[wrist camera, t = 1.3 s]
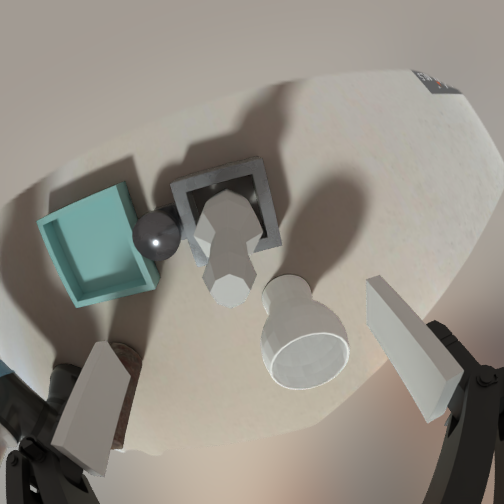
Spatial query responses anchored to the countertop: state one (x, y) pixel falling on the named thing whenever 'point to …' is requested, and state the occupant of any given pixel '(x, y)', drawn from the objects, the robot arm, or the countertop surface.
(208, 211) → the grey faceted bottle
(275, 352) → the cup
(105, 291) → the tray
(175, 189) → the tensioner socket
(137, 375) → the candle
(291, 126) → the countertop surface
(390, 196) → the countertop surface
